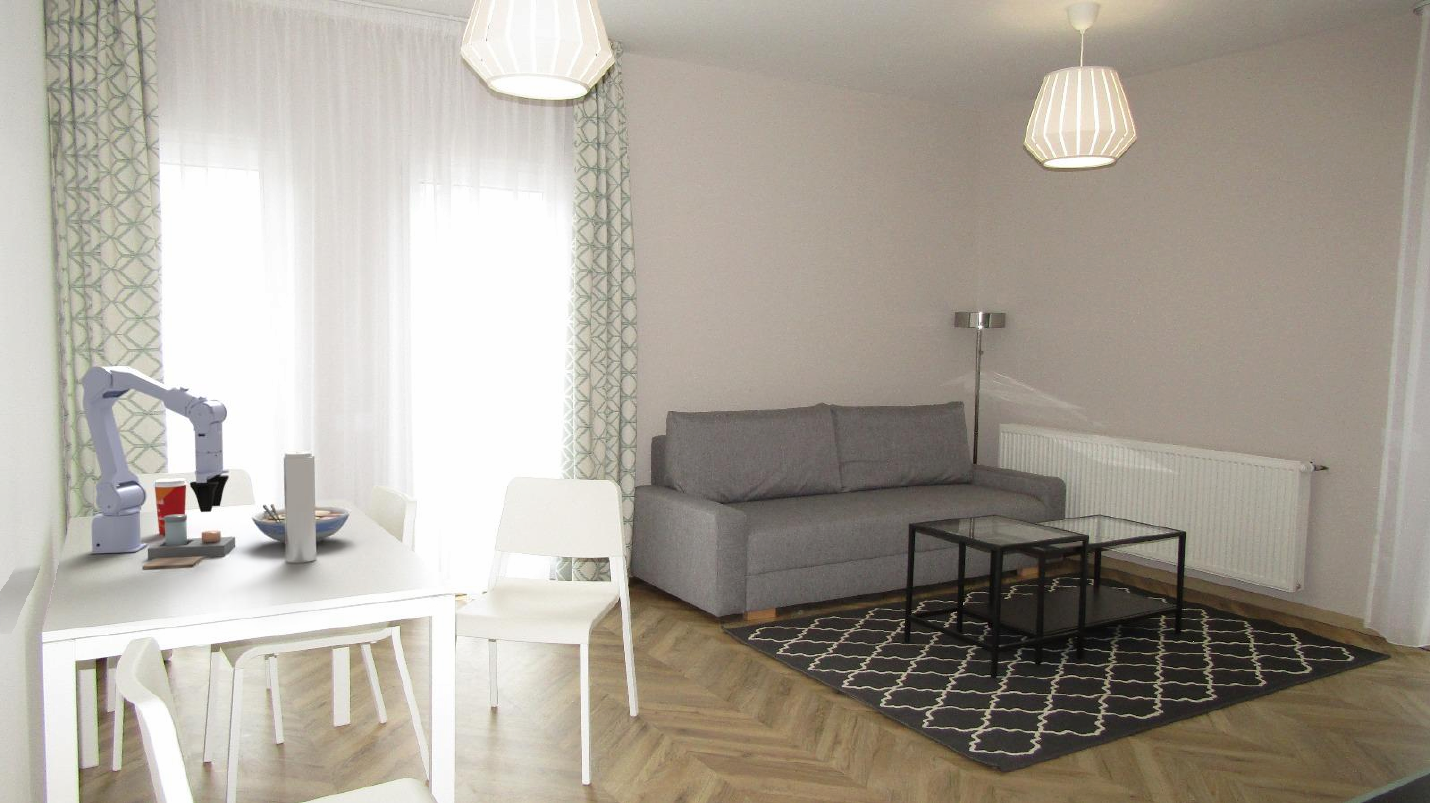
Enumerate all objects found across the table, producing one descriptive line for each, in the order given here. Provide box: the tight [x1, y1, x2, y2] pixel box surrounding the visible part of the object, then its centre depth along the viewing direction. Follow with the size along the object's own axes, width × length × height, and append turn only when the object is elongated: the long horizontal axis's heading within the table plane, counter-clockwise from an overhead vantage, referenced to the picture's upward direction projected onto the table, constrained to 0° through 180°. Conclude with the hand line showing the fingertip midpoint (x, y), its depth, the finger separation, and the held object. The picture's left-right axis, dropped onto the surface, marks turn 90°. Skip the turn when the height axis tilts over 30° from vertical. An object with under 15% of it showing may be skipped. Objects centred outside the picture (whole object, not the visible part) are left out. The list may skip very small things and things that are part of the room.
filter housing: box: [147, 536, 236, 560], centre depth 220 cm, size 16×10×2 cm, turn 104°
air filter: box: [283, 451, 317, 564], centre depth 213 cm, size 6×6×25 cm
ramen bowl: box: [251, 504, 352, 544], centre depth 233 cm, size 25×23×8 cm
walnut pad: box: [142, 556, 204, 570], centre depth 210 cm, size 10×8×1 cm
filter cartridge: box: [164, 513, 188, 546], centre depth 219 cm, size 5×5×9 cm
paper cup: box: [153, 477, 188, 536], centre depth 242 cm, size 8×8×14 cm
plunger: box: [201, 530, 222, 542], centre depth 221 cm, size 4×4×2 cm
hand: (210, 508), depth 221 cm, fingers open, 7 cm apart
